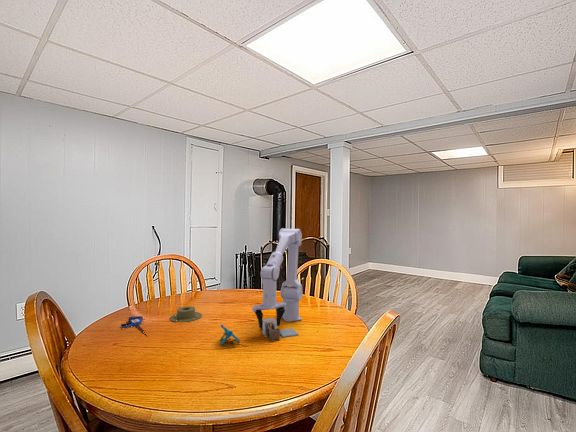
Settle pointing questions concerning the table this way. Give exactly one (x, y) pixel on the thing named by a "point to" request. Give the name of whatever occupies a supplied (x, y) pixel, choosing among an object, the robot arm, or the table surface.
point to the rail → (272, 333)
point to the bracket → (265, 325)
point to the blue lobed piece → (227, 335)
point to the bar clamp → (134, 322)
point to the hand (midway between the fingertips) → (269, 326)
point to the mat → (288, 332)
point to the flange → (186, 314)
